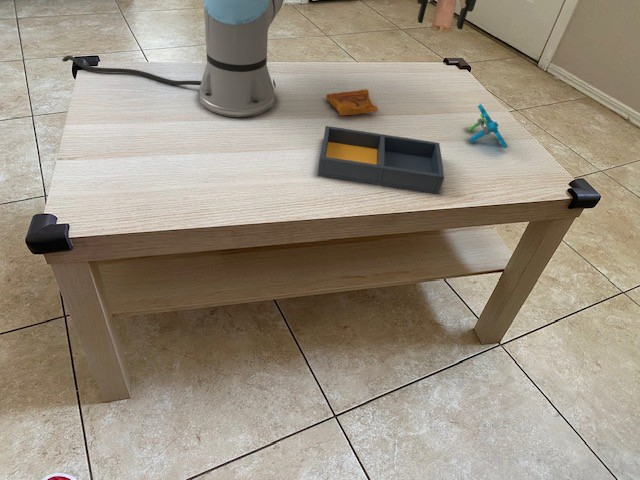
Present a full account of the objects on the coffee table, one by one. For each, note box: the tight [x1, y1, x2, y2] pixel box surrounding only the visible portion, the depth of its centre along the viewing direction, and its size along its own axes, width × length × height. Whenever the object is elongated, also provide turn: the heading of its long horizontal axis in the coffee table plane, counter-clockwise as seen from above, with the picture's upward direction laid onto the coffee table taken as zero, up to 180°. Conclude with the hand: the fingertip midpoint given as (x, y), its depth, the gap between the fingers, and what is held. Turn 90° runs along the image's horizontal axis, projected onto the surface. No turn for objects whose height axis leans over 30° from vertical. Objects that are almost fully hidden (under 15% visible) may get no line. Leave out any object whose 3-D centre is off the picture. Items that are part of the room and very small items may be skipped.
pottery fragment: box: [326, 88, 379, 116], centre depth 103 cm, size 10×5×10 cm
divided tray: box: [317, 125, 445, 195], centre depth 87 cm, size 21×11×4 cm, turn 84°
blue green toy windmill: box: [468, 104, 508, 150], centre depth 97 cm, size 11×6×10 cm
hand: (439, 23), depth 99 cm, fingers closed on grandmother figurine, 7 cm apart
